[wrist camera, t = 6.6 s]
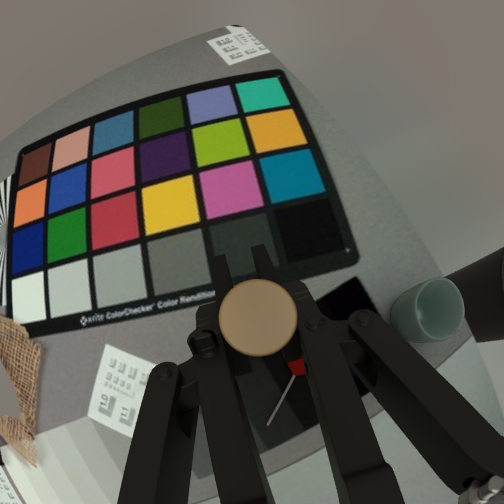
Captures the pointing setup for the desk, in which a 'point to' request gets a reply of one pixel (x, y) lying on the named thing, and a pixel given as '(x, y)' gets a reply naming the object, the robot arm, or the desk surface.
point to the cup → (428, 311)
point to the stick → (257, 317)
